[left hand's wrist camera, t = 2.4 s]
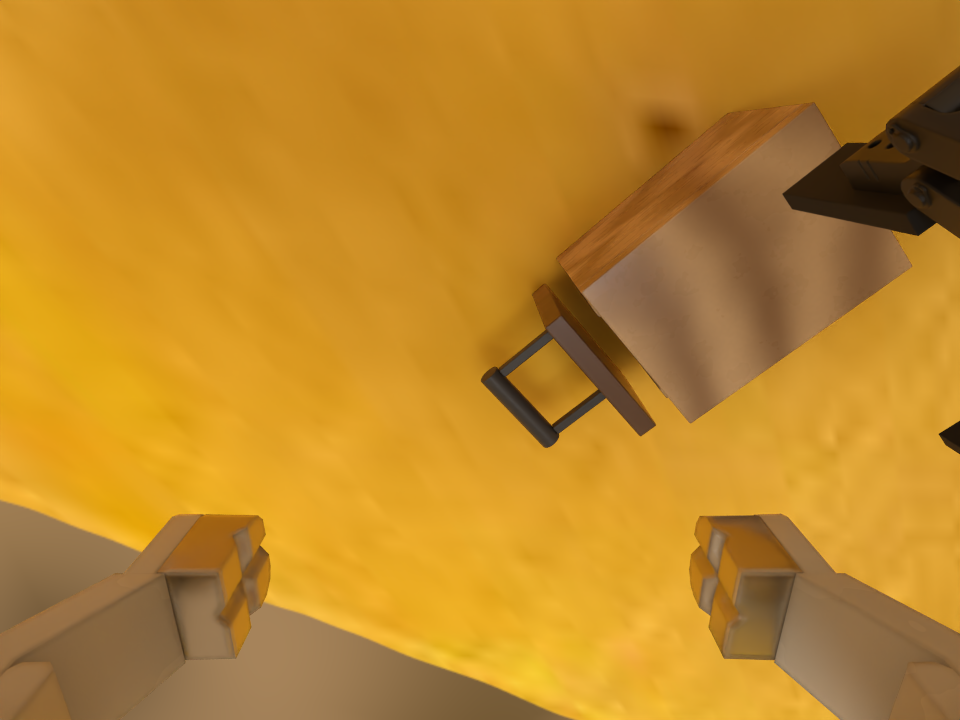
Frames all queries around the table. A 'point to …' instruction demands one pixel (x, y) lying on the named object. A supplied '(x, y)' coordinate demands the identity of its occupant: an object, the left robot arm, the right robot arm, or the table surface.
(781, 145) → the cabinet
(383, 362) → the table surface
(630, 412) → the drawer
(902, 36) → the table surface
